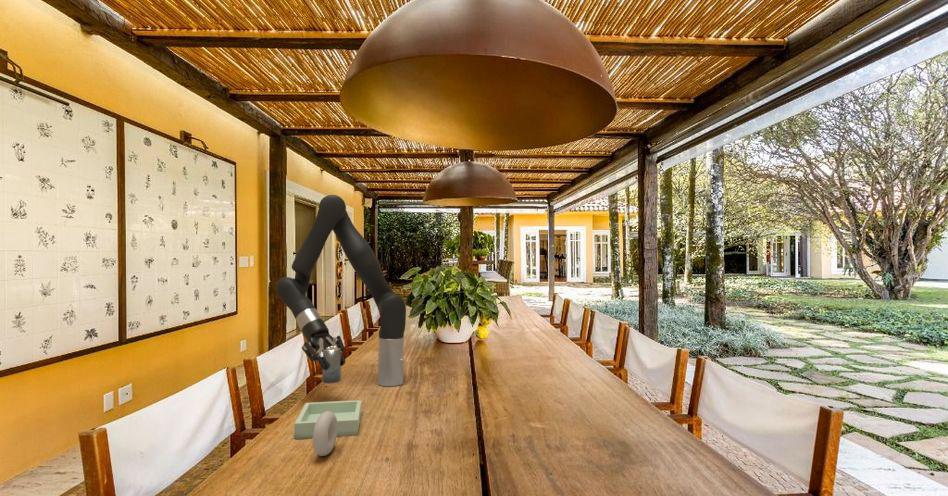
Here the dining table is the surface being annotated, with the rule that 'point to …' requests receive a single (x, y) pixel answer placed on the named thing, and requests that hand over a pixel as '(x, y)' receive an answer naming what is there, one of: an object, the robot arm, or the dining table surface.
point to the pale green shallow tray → (343, 410)
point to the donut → (325, 433)
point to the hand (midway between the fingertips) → (335, 366)
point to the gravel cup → (332, 365)
